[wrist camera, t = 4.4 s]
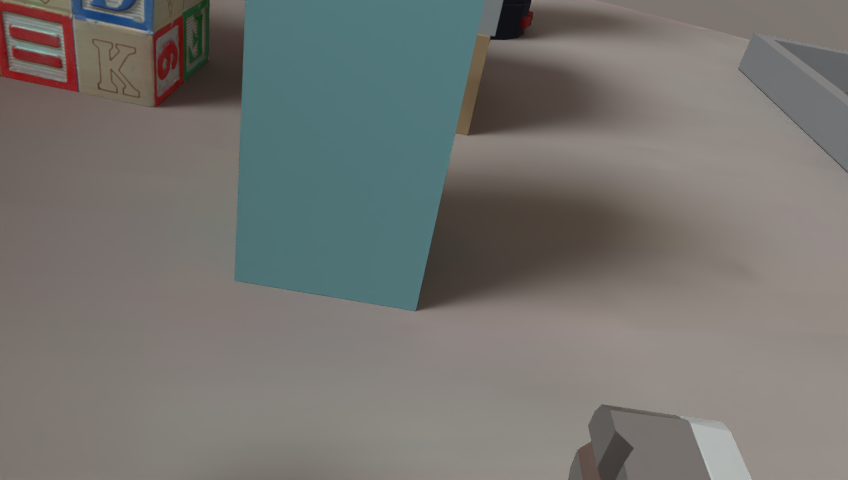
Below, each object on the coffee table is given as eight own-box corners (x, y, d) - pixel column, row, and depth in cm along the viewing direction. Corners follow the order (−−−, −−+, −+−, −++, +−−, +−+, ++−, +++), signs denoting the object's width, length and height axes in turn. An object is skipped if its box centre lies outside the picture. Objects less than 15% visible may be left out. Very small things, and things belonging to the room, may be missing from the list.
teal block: (234, 280, 19) (250, -130, 13) (275, 192, 23) (299, -146, 18) (415, 310, 19) (502, -78, 14) (423, 218, 23) (491, -106, 18)
